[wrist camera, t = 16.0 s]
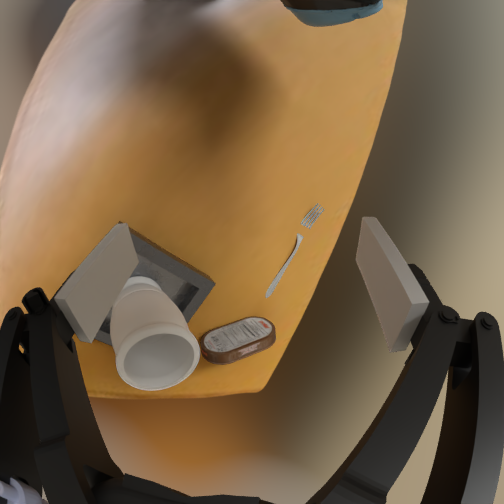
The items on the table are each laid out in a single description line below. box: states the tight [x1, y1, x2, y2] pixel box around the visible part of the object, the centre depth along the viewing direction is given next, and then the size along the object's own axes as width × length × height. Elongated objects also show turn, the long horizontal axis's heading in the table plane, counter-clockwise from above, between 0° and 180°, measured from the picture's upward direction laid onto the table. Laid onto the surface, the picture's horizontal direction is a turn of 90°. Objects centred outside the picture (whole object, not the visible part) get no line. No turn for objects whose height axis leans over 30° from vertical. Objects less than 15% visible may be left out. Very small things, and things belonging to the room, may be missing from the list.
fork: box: [266, 203, 324, 298], centre depth 54 cm, size 3×24×2 cm, turn 147°
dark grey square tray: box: [94, 221, 216, 346], centre depth 39 cm, size 18×18×3 cm
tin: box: [201, 317, 276, 365], centre depth 49 cm, size 15×3×8 cm, turn 91°
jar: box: [110, 276, 200, 391], centre depth 34 cm, size 11×10×15 cm
